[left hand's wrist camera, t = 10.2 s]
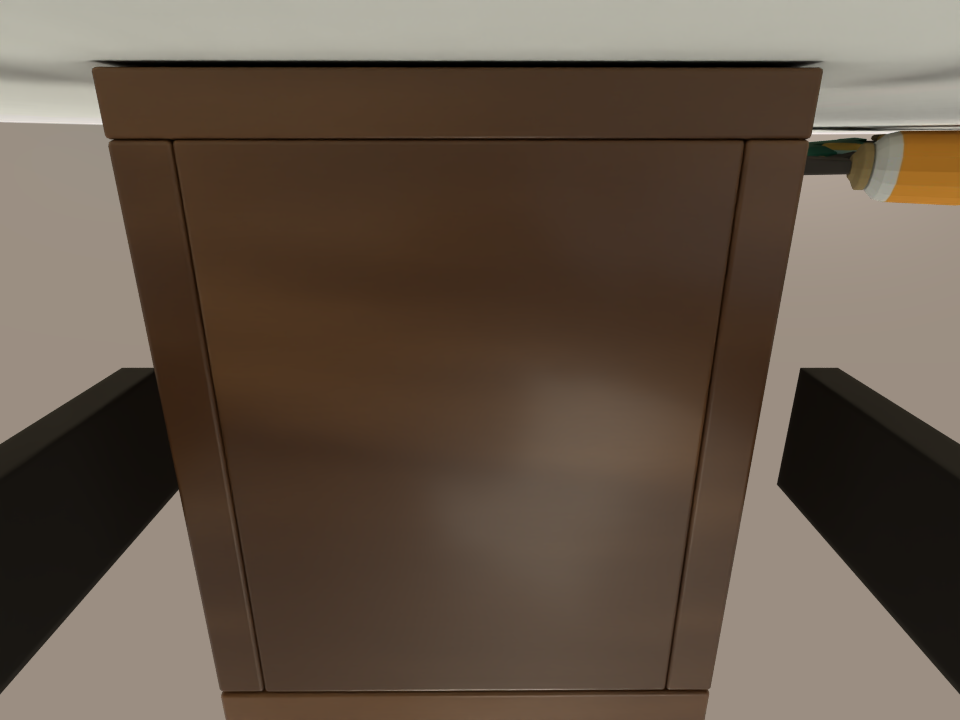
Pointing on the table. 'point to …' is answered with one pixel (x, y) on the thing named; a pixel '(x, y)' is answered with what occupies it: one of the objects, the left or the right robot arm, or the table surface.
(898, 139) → the spray gun
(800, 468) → the left robot arm
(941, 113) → the table surface
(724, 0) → the table surface
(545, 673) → the chest
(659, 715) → the lid
